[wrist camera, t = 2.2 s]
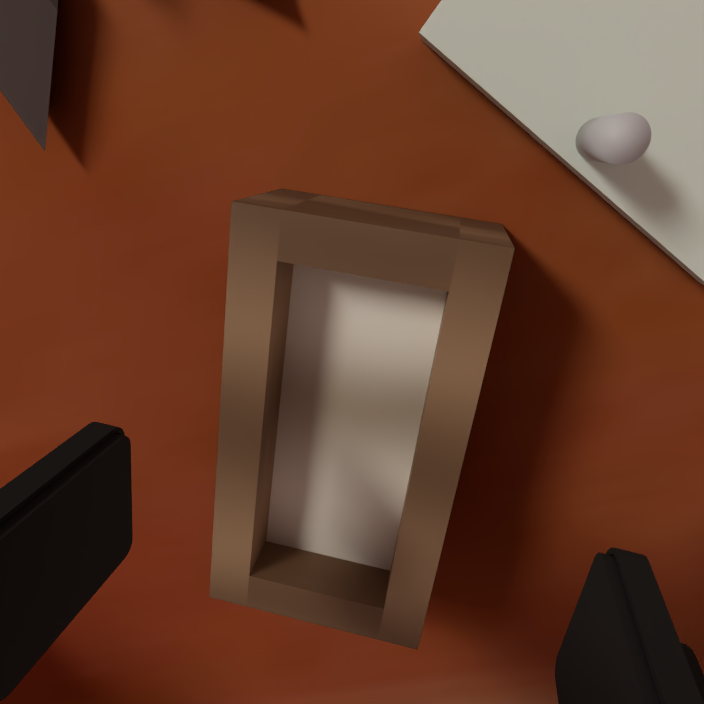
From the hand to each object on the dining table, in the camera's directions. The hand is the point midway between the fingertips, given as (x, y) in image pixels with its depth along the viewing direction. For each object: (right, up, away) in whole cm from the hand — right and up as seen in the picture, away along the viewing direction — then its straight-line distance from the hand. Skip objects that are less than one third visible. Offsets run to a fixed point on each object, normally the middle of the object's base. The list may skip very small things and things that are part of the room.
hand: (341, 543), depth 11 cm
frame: (0, +3, +8) cm, 8 cm away
